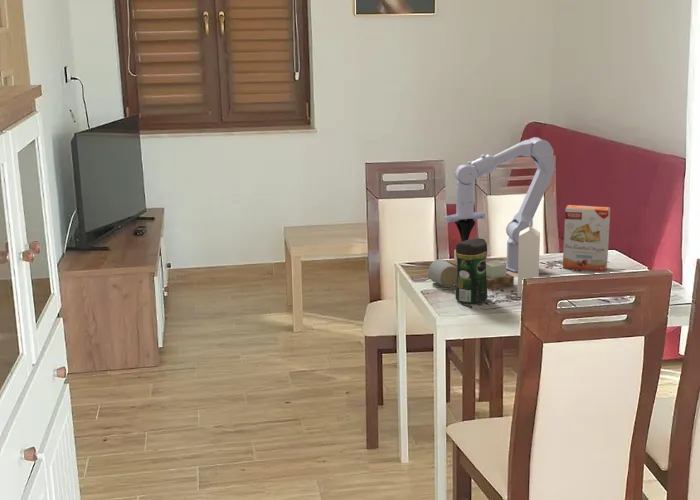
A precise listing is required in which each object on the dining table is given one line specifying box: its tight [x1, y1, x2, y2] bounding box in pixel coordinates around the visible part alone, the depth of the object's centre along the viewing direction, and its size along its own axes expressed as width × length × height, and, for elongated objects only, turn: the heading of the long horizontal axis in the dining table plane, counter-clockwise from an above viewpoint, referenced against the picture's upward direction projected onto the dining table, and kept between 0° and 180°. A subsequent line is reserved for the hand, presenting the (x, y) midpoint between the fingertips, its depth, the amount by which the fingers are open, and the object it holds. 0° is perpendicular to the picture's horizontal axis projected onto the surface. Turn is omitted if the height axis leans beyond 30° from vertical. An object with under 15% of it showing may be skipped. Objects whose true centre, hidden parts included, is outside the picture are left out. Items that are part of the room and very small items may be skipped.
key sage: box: [486, 260, 507, 278], centre depth 269 cm, size 5×5×4 cm
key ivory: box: [453, 249, 457, 262], centre depth 287 cm, size 5×5×4 cm
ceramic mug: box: [428, 258, 457, 288], centre depth 271 cm, size 11×8×8 cm
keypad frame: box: [446, 259, 515, 290], centre depth 279 cm, size 9×27×3 cm, turn 22°
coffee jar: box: [455, 237, 488, 304], centre depth 253 cm, size 10×8×19 cm
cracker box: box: [562, 204, 611, 272], centre depth 284 cm, size 14×6×21 cm, turn 68°
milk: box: [516, 224, 541, 298], centre depth 256 cm, size 6×6×22 cm
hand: (464, 241), depth 285 cm, fingers closed
